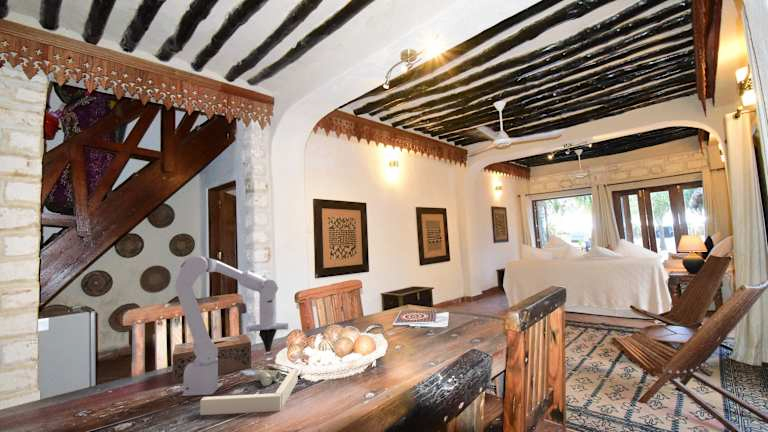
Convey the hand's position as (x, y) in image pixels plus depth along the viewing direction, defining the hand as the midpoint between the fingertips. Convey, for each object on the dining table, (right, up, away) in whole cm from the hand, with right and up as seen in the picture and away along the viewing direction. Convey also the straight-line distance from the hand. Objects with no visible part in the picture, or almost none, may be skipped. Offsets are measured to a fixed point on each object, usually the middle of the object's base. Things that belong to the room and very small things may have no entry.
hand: (268, 350), depth 123 cm
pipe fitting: (+1, -8, -8) cm, 11 cm away
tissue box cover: (-24, -11, +8) cm, 27 cm away
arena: (+2, -7, -18) cm, 19 cm away
